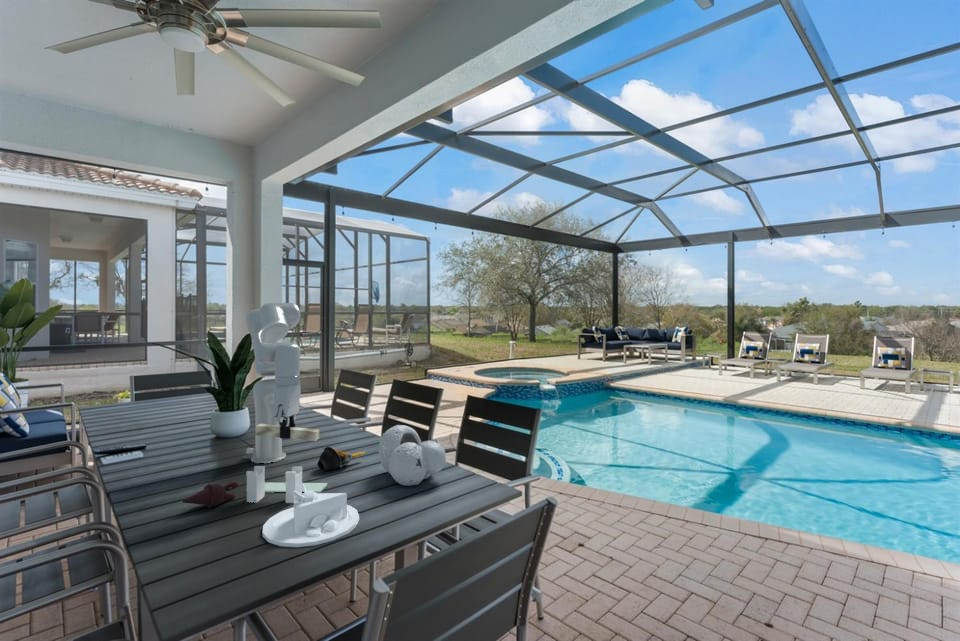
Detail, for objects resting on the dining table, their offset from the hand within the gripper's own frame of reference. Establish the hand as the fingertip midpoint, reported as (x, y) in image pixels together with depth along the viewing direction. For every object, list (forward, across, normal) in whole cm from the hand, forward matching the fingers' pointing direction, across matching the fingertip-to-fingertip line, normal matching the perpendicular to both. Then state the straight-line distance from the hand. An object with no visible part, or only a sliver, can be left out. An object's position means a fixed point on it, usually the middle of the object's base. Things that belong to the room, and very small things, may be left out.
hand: (287, 436), depth 151 cm
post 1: (+17, +9, -6) cm, 20 cm away
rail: (0, 0, 0) cm, 0 cm away
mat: (+17, 0, 0) cm, 17 cm away
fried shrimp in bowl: (+18, -22, +11) cm, 30 cm away
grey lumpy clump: (+18, -11, +38) cm, 43 cm away
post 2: (+17, +9, +6) cm, 20 cm away
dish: (+18, +25, +18) cm, 36 cm away
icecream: (+18, +14, -17) cm, 28 cm away
